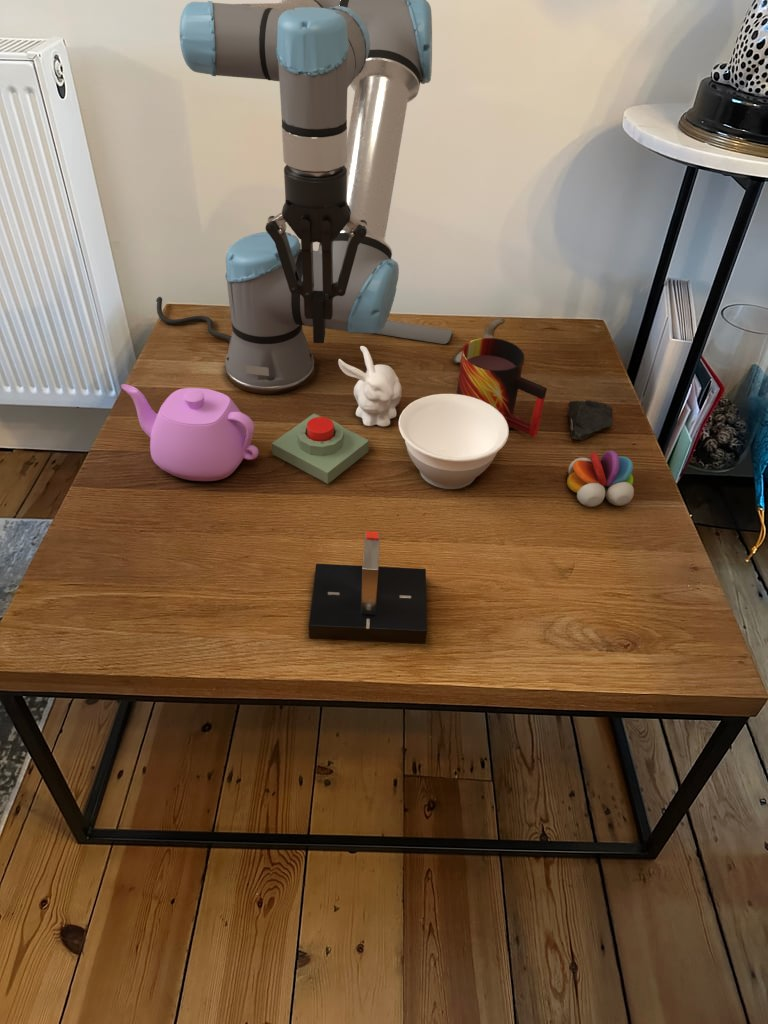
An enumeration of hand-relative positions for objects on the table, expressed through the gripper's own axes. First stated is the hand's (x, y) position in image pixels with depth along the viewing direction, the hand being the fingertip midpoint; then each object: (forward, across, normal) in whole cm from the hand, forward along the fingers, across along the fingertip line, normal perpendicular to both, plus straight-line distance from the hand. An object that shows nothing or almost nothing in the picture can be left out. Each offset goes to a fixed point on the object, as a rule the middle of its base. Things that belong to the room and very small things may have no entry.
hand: (319, 337), depth 107 cm
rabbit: (+19, -8, -7) cm, 21 cm away
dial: (+15, -9, +34) cm, 38 cm away
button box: (+18, 0, +4) cm, 18 cm away
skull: (+19, -28, -24) cm, 42 cm away
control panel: (+18, -8, +34) cm, 39 cm away
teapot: (+18, +18, +6) cm, 27 cm away
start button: (+15, 0, +3) cm, 15 cm away
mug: (+19, -28, -7) cm, 34 cm away
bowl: (+18, -20, +6) cm, 28 cm away
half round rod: (+19, -12, -34) cm, 41 cm away
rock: (+19, -43, -6) cm, 48 cm away
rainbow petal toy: (+18, -42, +10) cm, 47 cm away
